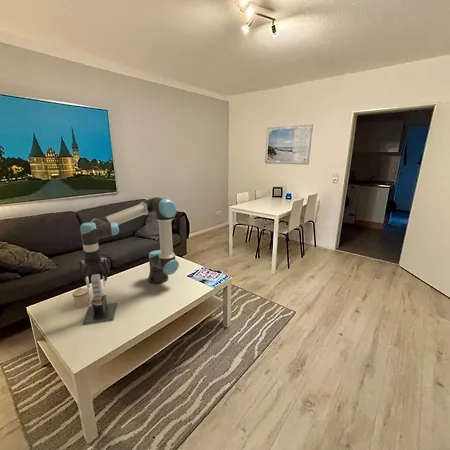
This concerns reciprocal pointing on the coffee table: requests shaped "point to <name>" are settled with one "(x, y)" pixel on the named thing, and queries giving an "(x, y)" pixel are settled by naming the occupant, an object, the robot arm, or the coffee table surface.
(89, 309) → the stand base
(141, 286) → the coffee table surface
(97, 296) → the column
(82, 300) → the teacup with lid
